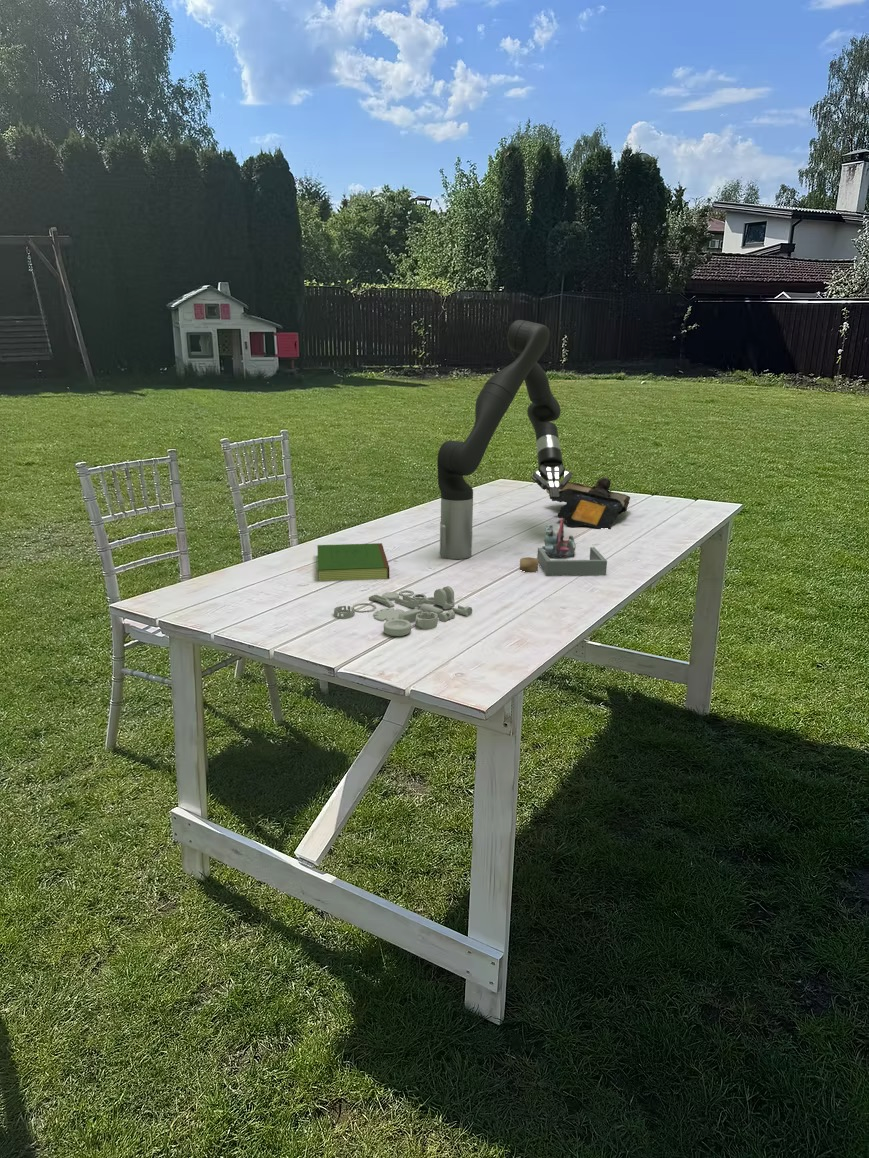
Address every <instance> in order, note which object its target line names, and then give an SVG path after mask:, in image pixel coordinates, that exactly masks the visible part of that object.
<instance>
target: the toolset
mask: <svg viewBox="0 0 869 1158" xmlns="http://www.w3.org/2000/svg"><path fill="white" fill-rule="evenodd" d="M561 482H562V481H559V483H561ZM610 487H611V480H610V479H609V478H607V477H602V478H599V479H598V480H597V481H596V485H594V486H592V487H591V486H588V485H586V484H581V483H577V482H576V483H575V482H568V483H567V484H566V485H565V487H564V488H563V489H562V490H561V489H559V494H560V496H559V499H557V501H556V502H559V503H565V504H564V505H562V506H561V507H560V509H559V512H558V513H557V515H556V516H557V518H559V519H561V518H563V520H564V521H566V525H565V526H567V527H569V528H577V527H581V526H587V527H592V528H594V529H597V530H602V529H601V528H603V529H605V528H608V529H607V530H612V527H611V525H612V524H613V523H614V520H616V518H617V516H618V515H620V514H623V513H626V512H627V510H628V508H629V505H630V501H631V496H629V495H627V494H625V493H620V492H615V491H610V490H609V489H610ZM553 488H554V485H553ZM545 491H546V494H548V495H549V491H548V490H547V489H545Z"/></svg>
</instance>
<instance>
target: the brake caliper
mask: <svg viewBox="0 0 869 1158" xmlns="http://www.w3.org/2000/svg"><path fill="white" fill-rule="evenodd" d="M553 527H554V525H552V524H549V525H548V524H546V525H545V529H544V531H545V533H544V534H545V535H544V539H543V542H544V543H543V544H544V545H543V546H541V548H542V549H543V550H544V551H545V553H546V554H547V555H549V556H550V557H551V556H552V557H551V558H572V557H573V555H574V554H575V551H576V547H577V546H576V543H575V538H574V535H573V534H570V535H569V537H568V539H567V540H565V539H564V538H565V535H564V534H565V533H564V532H565V531H564V528H565V527H564V519H563V518H560V524H559V530H558V529H555V530H553V529H554V528H553Z"/></svg>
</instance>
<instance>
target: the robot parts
mask: <svg viewBox="0 0 869 1158" xmlns="http://www.w3.org/2000/svg"><path fill="white" fill-rule="evenodd" d="M404 593H405V594H404ZM406 593H407V594H406ZM408 593H409V594H408ZM400 596H401V597H402V599H401V598H400ZM368 601H371V602H372V601H373V602H379V603H381V604H383V605H385V606H386V607H387V608H382V609H380V610H377V606H376V605H375V604H373V603H371V602H370V603H369V602H361V603H355V604H353V606H351V605H350V606H349V605H347V606H346V605H340V606H337V607H335V608H333V617H335V618H336V619H342V620H343V619H344V620H345V619H350V618H351V619H352V618H353V617H355V613H360V614H361V613H363V614H364V613H370V612H373V611H375V610H376V611H375V612H374V613H373V614H372V617H373V619H375V620H376V621H379V622H384V621H385V622H384V623H383V632H384V633H385V634H386V635H388V636H390V637H404V636H406V635H408V634H410V633H411V632H412V623H415V626H416V628H419V629H422V630H430V629H432V630H433V629H434V628H437V626H438V622H439V621H442V622H447V621H448V620H452V619H454V618H455V617H456V613H457V614H459V615H462V616H466V617H470V616H471V615H472V614H473V607H472V606H471V607H470V606H469V605H468V606H467V605H466V606H462V605H459V604H458V605H457V608H456V607H455V591H454V590H453V588H452V587H451V586H449V585H447V586H444V587H443V588H437V589H435V590H434V592H433V596H431V597H427V595H426V594H425V593H416V594H415V592H414V591H413V590H407V589H406V590H400V591H399V592H398V593H397V592H395V591H390V592H389V591H387V592H384V593H382V595H379V594H373V595H370V596H369V597H368ZM393 601H394V602H393ZM394 603H396V604H398V605H400V606H405V607H407V608H411V609H409V610H406V611H405V610H404V609H399V608H395V609H394V607H395V604H394ZM364 605H365V606H371V607H373V608H372V609H368V610H367V609H366V610H358V609H355V608H356V607H358V606H364ZM450 609H451V610H450ZM444 610H448V611H446V612H444ZM342 615H343V616H342ZM438 620H439V621H438Z"/></svg>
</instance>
